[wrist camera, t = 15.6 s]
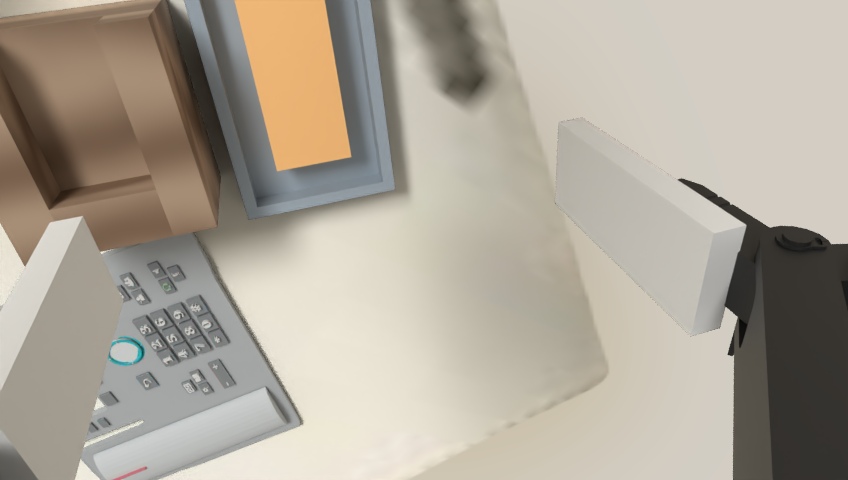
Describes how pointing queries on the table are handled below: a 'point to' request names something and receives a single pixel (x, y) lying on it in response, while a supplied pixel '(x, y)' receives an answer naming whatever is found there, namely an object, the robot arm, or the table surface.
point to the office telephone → (179, 369)
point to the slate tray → (246, 126)
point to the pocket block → (101, 127)
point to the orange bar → (295, 80)
